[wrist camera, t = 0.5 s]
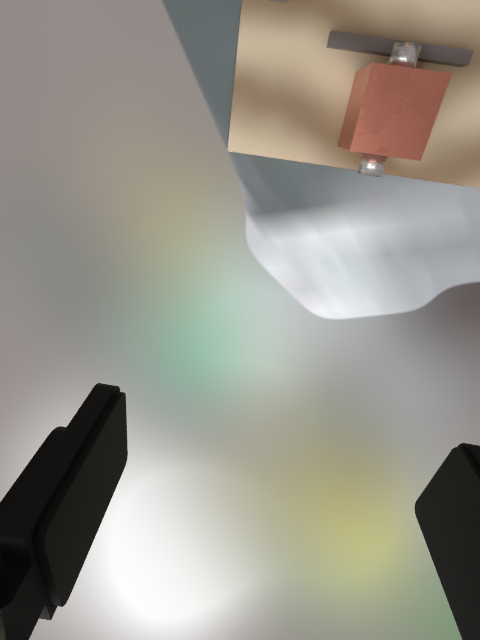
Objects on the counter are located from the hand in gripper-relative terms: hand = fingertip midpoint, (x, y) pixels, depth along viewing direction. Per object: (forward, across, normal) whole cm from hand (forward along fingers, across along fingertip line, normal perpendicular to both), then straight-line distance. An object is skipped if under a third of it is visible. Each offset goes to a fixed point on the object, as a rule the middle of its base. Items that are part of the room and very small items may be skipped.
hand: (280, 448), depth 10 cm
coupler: (+25, -6, -10) cm, 28 cm away
